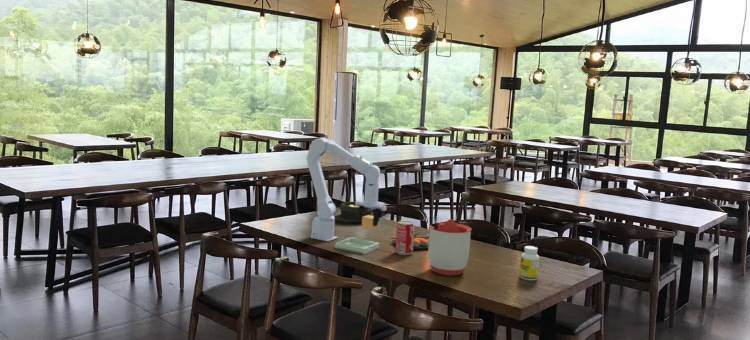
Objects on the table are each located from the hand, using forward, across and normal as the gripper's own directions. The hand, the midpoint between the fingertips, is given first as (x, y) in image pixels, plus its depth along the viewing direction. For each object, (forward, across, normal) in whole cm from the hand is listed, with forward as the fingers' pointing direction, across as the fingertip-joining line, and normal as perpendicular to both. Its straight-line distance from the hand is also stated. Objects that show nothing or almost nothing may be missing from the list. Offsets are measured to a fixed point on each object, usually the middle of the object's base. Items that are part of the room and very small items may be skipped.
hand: (369, 224), depth 259 cm
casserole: (+8, -27, +32) cm, 43 cm away
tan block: (+2, 0, 0) cm, 2 cm away
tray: (+8, +1, -11) cm, 14 cm away
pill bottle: (+8, +71, -4) cm, 72 cm away
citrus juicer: (+8, +43, -16) cm, 47 cm away
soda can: (+8, +20, -5) cm, 22 cm away
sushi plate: (+9, +16, +17) cm, 25 cm away
